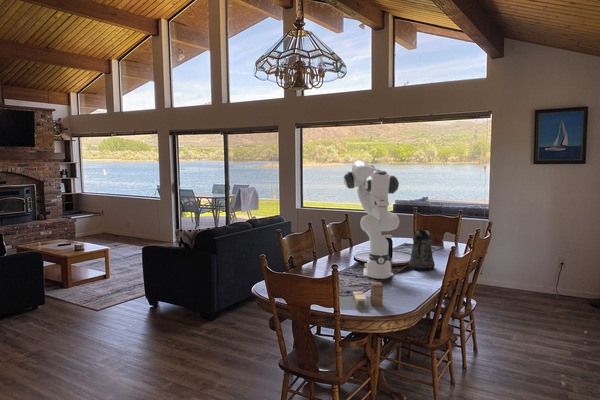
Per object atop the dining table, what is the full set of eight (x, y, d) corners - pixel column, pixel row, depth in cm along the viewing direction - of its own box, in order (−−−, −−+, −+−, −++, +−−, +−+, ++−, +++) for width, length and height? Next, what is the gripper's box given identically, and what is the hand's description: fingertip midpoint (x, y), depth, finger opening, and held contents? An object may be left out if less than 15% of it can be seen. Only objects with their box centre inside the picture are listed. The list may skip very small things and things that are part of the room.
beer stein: (432, 265, 295) (434, 229, 292) (436, 273, 276) (438, 234, 273) (407, 264, 298) (409, 228, 295) (409, 272, 279) (411, 233, 276)
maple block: (352, 291, 224) (356, 298, 213) (362, 291, 224) (366, 298, 213) (352, 300, 225) (356, 308, 214) (362, 300, 225) (366, 308, 214)
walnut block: (370, 303, 221) (371, 282, 220) (380, 303, 222) (380, 282, 220) (372, 306, 216) (373, 285, 215) (382, 306, 217) (383, 285, 215)
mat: (336, 297, 231) (336, 296, 231) (377, 297, 232) (377, 296, 232) (341, 310, 212) (341, 309, 212) (386, 310, 213) (386, 309, 213)
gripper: (369, 198, 243) (368, 223, 245) (377, 203, 223) (376, 230, 225) (380, 198, 243) (380, 223, 245) (389, 203, 223) (388, 230, 225)
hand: (378, 226), depth 235 cm, fingers closed
